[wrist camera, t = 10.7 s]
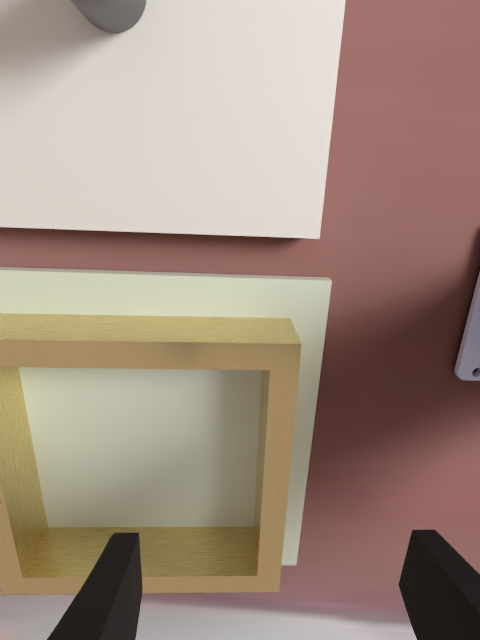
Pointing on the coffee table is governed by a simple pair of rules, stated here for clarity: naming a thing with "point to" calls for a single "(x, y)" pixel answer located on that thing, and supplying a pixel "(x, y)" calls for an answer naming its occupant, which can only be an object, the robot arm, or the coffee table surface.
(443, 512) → the coffee table surface
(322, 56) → the post stand
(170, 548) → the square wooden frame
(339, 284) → the coffee table surface
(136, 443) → the mat
